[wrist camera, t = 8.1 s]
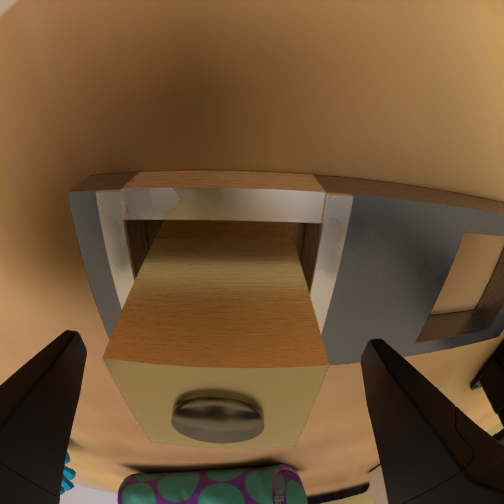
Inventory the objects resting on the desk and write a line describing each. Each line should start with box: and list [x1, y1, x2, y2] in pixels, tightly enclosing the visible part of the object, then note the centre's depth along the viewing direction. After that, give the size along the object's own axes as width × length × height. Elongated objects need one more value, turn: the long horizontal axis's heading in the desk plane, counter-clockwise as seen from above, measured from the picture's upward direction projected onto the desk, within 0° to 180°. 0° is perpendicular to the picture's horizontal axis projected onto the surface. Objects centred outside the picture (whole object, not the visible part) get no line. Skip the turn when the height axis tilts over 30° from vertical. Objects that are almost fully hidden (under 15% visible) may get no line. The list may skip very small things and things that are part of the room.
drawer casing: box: [67, 171, 504, 365], centre depth 11 cm, size 22×8×2 cm, turn 87°
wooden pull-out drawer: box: [103, 220, 329, 449], centre depth 9 cm, size 4×4×7 cm
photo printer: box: [368, 465, 388, 504], centre depth 24 cm, size 10×4×12 cm, turn 168°
